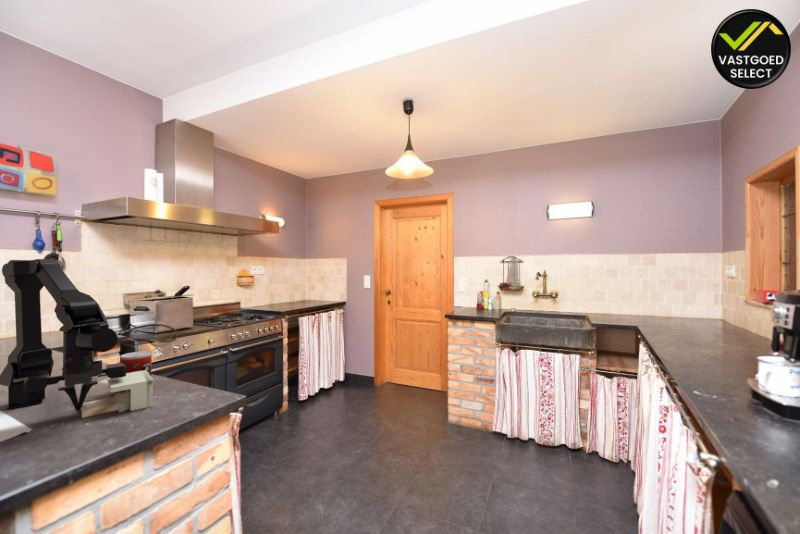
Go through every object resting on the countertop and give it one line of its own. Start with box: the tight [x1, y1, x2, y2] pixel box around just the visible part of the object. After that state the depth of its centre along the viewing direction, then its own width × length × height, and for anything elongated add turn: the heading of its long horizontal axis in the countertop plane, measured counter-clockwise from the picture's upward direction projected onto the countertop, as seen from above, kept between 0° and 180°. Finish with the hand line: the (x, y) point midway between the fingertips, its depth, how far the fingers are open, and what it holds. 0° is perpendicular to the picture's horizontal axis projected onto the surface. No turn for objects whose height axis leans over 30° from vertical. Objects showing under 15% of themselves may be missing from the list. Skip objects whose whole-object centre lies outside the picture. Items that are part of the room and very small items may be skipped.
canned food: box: [119, 350, 153, 393], centre depth 106 cm, size 8×8×11 cm
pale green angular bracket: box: [106, 370, 154, 413], centre depth 95 cm, size 9×13×7 cm
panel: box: [81, 394, 130, 419], centre depth 92 cm, size 10×6×2 cm, turn 133°
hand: (78, 410), depth 88 cm, fingers closed
